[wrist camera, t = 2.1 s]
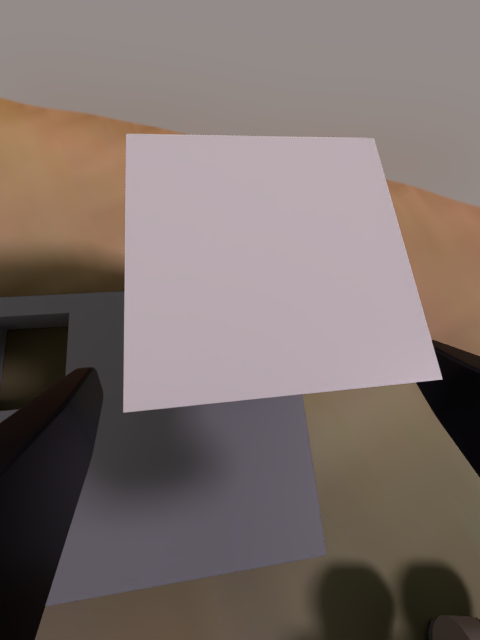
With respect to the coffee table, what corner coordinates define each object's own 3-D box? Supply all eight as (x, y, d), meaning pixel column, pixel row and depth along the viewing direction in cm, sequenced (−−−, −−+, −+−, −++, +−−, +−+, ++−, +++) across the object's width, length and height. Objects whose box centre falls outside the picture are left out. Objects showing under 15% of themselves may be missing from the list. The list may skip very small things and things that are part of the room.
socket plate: (309, 532, 16) (326, 555, 13) (-53, 593, 14) (-109, 634, 11) (275, 297, 20) (285, 282, 17) (-12, 313, 17) (-48, 299, 15)
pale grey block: (288, 394, 16) (442, 379, 6) (182, 405, 16) (123, 412, 5) (274, 296, 18) (373, 137, 7) (178, 302, 17) (126, 133, 6)
